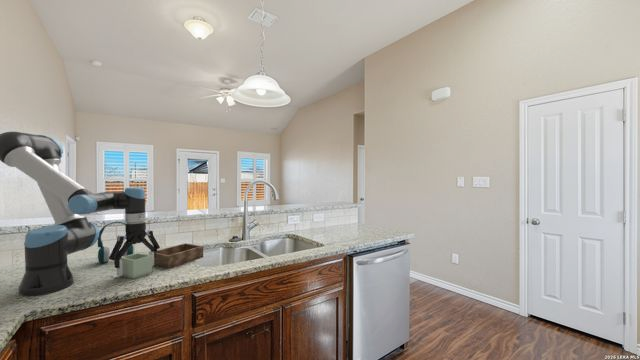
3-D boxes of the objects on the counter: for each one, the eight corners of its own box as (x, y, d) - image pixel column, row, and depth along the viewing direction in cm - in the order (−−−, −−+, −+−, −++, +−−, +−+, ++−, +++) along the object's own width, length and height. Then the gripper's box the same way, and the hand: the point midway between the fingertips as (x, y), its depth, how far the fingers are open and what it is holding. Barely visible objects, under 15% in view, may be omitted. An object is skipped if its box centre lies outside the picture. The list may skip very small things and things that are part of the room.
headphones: (98, 261, 139) (98, 222, 139) (133, 256, 148) (133, 219, 147) (96, 265, 133) (96, 224, 132) (133, 260, 141) (133, 221, 141)
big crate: (168, 268, 128) (168, 256, 128) (149, 264, 135) (149, 252, 134) (203, 257, 146) (203, 246, 146) (185, 253, 153) (185, 243, 152)
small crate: (133, 279, 115) (133, 260, 115) (119, 275, 120) (119, 257, 120) (152, 273, 123) (152, 255, 122) (138, 269, 127) (138, 252, 127)
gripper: (108, 228, 108) (109, 281, 108) (167, 218, 130) (168, 262, 131) (98, 226, 111) (99, 278, 112) (157, 217, 134) (158, 260, 134)
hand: (136, 270), depth 121 cm, fingers open, 13 cm apart
